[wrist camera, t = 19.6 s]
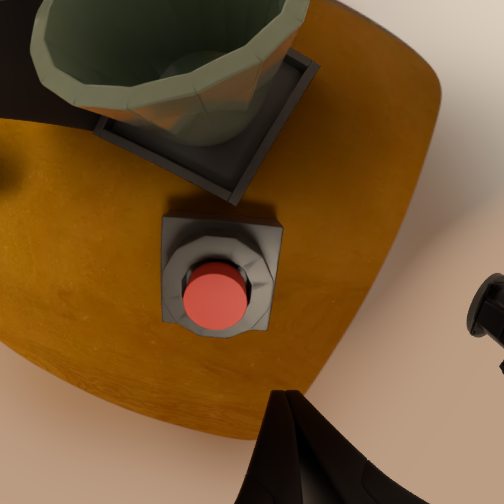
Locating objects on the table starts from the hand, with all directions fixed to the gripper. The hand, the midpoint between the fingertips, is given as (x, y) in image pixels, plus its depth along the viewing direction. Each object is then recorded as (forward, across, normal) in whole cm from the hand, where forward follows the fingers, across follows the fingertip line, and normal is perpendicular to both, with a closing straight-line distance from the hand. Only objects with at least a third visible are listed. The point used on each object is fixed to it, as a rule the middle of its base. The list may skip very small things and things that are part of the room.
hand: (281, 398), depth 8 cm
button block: (+12, +2, 0) cm, 12 cm away
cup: (+11, +4, -11) cm, 16 cm away
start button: (+8, +2, 0) cm, 8 cm away
